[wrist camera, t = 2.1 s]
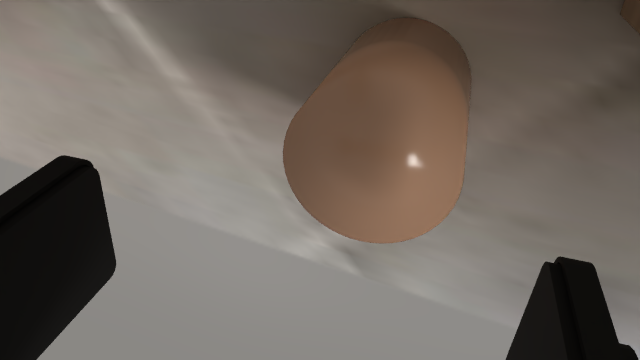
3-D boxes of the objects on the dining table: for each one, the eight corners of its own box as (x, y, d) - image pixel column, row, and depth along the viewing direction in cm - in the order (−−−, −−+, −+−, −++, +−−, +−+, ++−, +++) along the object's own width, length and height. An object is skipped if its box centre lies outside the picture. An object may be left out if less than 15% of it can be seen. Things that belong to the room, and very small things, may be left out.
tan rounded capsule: (485, 27, 18) (484, 99, 12) (456, 152, 20) (443, 260, 15) (348, 9, 19) (285, 67, 13) (336, 129, 21) (280, 222, 16)
